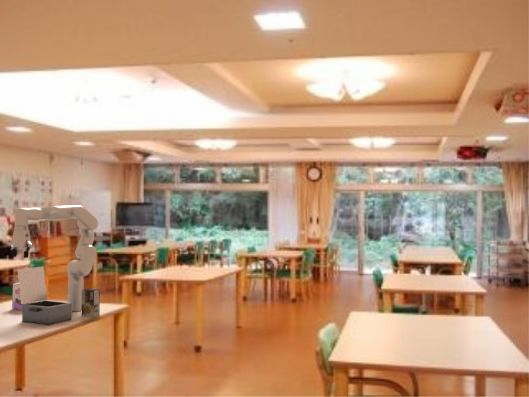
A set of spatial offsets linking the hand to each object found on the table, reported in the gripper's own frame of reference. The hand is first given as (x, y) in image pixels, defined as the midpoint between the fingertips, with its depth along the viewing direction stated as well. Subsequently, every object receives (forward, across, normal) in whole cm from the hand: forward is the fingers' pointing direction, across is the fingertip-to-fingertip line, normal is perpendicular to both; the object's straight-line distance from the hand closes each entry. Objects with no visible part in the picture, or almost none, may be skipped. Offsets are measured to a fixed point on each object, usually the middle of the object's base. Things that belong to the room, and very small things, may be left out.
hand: (19, 257), depth 363 cm
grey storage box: (+35, -25, +2) cm, 43 cm away
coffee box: (+35, -35, -23) cm, 55 cm away
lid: (+15, -13, +2) cm, 20 cm away
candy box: (+35, +16, -21) cm, 44 cm away
